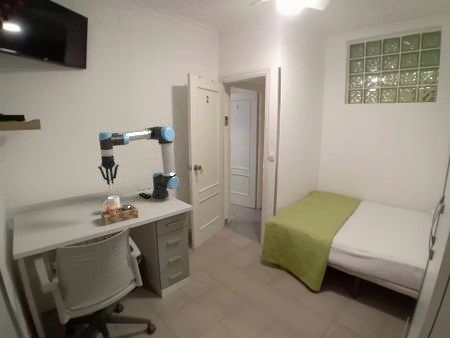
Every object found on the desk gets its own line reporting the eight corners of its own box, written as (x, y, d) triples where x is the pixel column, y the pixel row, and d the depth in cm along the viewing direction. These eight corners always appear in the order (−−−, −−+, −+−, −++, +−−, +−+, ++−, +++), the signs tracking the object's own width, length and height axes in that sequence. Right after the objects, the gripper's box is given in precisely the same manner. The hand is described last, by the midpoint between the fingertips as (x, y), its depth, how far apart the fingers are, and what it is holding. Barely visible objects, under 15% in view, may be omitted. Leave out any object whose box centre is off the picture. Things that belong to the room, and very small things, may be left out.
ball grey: (130, 213, 174) (129, 203, 173) (133, 216, 170) (132, 206, 168) (121, 215, 170) (120, 205, 169) (124, 218, 166) (123, 208, 164)
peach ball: (116, 214, 168) (115, 204, 166) (118, 217, 163) (117, 206, 161) (106, 216, 164) (105, 206, 162) (108, 219, 159) (107, 209, 157)
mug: (104, 216, 170) (103, 200, 168) (103, 212, 177) (101, 197, 175) (121, 212, 177) (120, 197, 174) (119, 209, 184) (118, 194, 181)
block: (133, 212, 178) (132, 204, 177) (138, 217, 169) (137, 209, 168) (101, 219, 165) (100, 211, 164) (105, 225, 156) (104, 217, 154)
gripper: (116, 153, 162) (119, 185, 167) (95, 155, 154) (99, 189, 159) (119, 155, 156) (122, 188, 162) (97, 157, 148) (101, 191, 154)
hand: (110, 188), depth 161 cm, fingers closed
